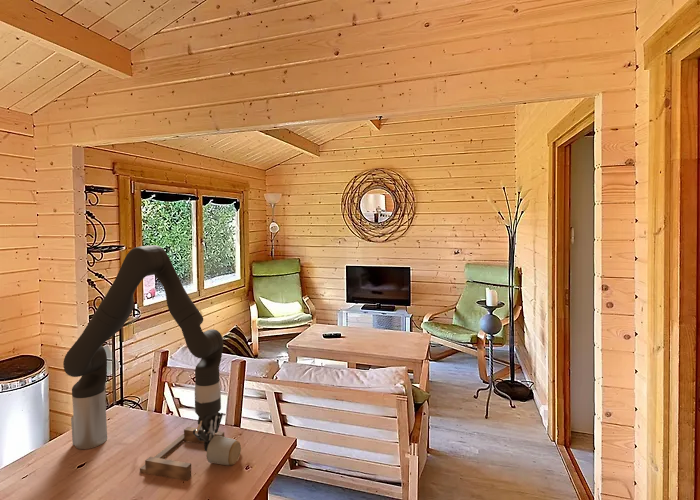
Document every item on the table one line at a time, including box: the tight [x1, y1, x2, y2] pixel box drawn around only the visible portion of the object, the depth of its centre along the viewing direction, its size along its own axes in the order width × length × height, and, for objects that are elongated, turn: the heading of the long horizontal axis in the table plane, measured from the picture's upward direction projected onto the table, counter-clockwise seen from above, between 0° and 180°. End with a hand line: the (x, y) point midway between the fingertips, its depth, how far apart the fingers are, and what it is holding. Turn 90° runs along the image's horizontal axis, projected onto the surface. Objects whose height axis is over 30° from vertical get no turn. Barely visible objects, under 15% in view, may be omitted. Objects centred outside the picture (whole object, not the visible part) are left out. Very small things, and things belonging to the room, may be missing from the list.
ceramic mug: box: [205, 435, 242, 466], centre depth 128 cm, size 11×8×8 cm
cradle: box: [139, 426, 225, 482], centre depth 129 cm, size 16×20×4 cm
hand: (209, 450), depth 127 cm, fingers closed
